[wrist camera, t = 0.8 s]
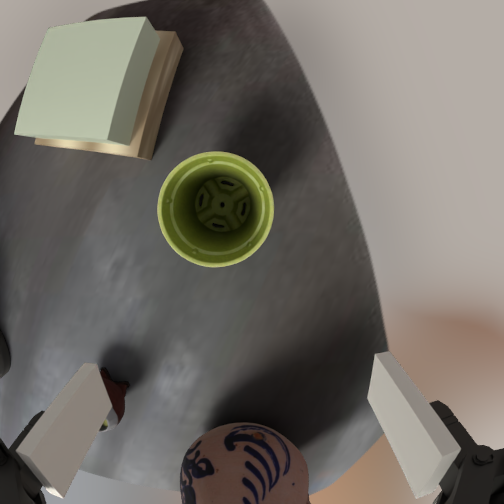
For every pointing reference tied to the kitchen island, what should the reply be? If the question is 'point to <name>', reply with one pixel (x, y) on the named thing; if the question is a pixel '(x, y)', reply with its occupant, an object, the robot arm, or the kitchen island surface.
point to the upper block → (88, 81)
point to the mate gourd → (113, 400)
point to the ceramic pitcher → (244, 468)
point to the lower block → (141, 105)
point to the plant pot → (215, 209)
